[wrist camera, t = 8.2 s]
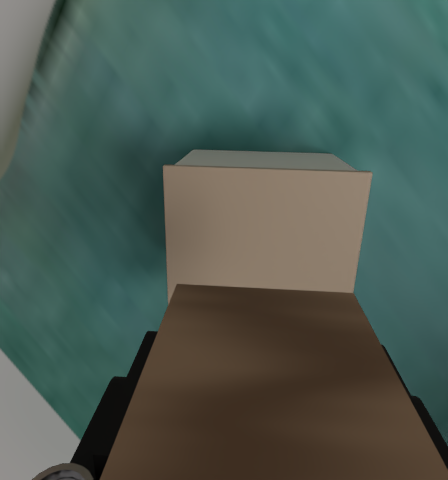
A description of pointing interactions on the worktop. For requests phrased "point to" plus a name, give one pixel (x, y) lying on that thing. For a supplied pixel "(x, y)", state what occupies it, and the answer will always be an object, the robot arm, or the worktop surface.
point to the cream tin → (264, 220)
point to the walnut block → (269, 394)
